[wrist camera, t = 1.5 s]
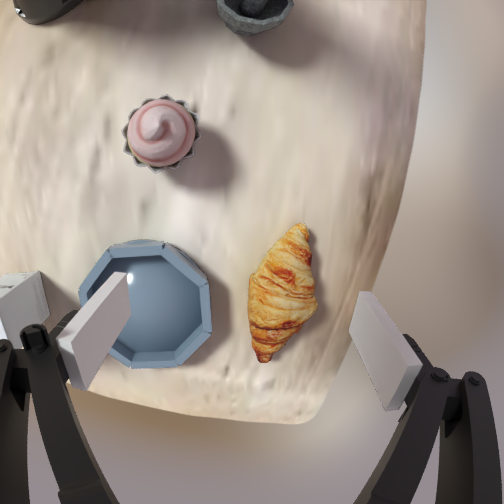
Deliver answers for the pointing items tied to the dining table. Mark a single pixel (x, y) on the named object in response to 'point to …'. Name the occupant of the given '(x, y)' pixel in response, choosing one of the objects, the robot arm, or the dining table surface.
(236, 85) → the dining table surface
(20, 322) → the supplement box
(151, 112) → the cupcake
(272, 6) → the mortar and pestle
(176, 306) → the octagonal dish
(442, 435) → the robot arm
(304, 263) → the croissant
